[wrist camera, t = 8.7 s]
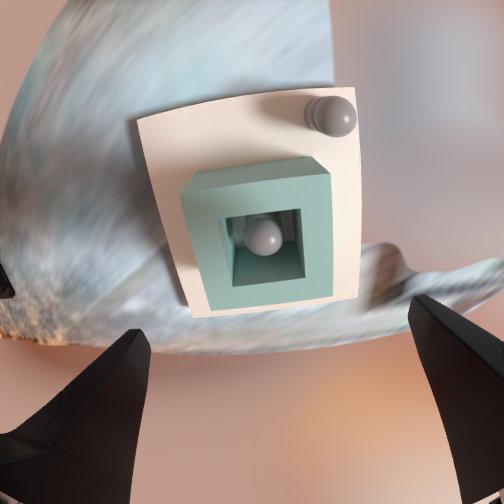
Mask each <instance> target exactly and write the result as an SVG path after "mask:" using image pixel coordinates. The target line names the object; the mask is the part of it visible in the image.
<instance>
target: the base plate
mask: <svg viewBox="0 0 504 504" xmlns="http://www.w3.org/2000/svg"><path fill="white" fill-rule="evenodd" d="M137 124H138V129H139V134H140V138H141V143H142V147H143V151H144V156H145V160H146V164H147V168H148V172H149V176H150V180H151V184H152V188H153V192H154V195H155V199H156V203H157V206H158V210H159V214H160V217H161V221H162V224H163V228H164V231H165V234H166V238H167V241H168V244H169V247H170V251H171V254H172V257H173V260H174V263H175V266H176V269H177V272H178V276H179V279H180V282H181V284H182V287H183V290H184V293H185V296H186V299H187V302H188V305H189V307H190V310H191V313H192V316H193V318H198V317H210V316H221V315H231V314H241V313H251V312H259V311H268V310H276V309H284V308H292V307H299V306H306V305H313V304H320V303H327V302H333V301H340V300H346V299H352V298H357V297H358V285H359V271H360V252H361V212H362V209H361V208H362V207H361V206H362V204H361V202H362V199H361V161H360V142H359V128H358V117H357V107H356V97H355V89H354V87H348V88H347V87H342V88H312V89H297V90H285V91H275V92H266V93H258V94H251V95H244V96H237V97H231V98H225V99H220V100H215V101H209V102H204V103H200V104H195V105H191V106H186V107H182V108H178V109H174V110H170V111H166V112H162V113H158V114H155V115H151V116H148V117H144V118H141V119H138V120H137ZM302 157H313V158H314V159H315V160H316V161H317V162H319V163H320V164H321V165H322V166H323V167H324V168H325V169H326V170H327V171H328V172H330V173H331V189H332V212H333V296H332V297H325V298H318V299H311V300H304V301H297V302H289V303H281V304H273V305H265V306H256V307H247V308H238V309H228V310H217V311H211V309H210V306H209V303H208V299H207V296H206V293H205V289H204V286H203V282H202V279H201V276H200V272H199V269H198V265H197V261H196V258H195V254H194V251H193V247H192V243H191V239H190V236H189V232H188V228H187V224H186V220H185V216H184V212H183V208H182V204H181V200H180V196H179V194H180V192H181V191H182V190H183V189H184V187H185V186H186V185H187V184H188V182H189V181H190V180H191V179H192V177H193V176H194V175H195V174H196V173H197V172H203V171H208V170H214V169H220V168H226V167H232V166H239V165H245V164H252V163H260V162H267V161H275V160H284V159H293V158H302ZM230 219H231V224H232V229H233V235H234V240H235V245H236V248H242V247H248V248H249V250H250V251H251V252H253V253H255V254H257V255H260V256H268V255H271V254H274V253H275V252H277V251H278V250H279V249H280V247H281V246H282V243H283V242H289V241H295V235H294V223H293V213H292V209H290V210H282V211H274V212H267V213H259V214H252V215H244V216H237V217H230Z"/></svg>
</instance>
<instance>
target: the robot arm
mask: <svg viewBox="0 0 504 504" xmlns="http://www.w3.org/2000/svg"><path fill="white" fill-rule="evenodd" d="M14 296H15V292H14V290H13V288H12V286H11V284H10V282H9V280H8V278H7V276H6V274H5V272H4V270H3V268H2V266H1V264H0V299H6V298H13V297H14ZM408 322H409V325H410V328H411V331H412V335H413V337H414V341H415V345H416V347H417V351H418V354H419V358H420V361H421V363H422V366H423V368H424V371H425V374H426V376H427V379H428V381H429V384H430V387H431V390H432V392H433V395H434V398H435V401H436V404H437V407H438V410H439V413H440V416H441V419H442V422H443V425H444V429H445V432H446V435H447V439H448V442H449V446H450V450H451V453H452V457H453V461H454V466H455V470H456V474H457V479H458V484H459V488H460V493H461V499H462V504H473V503H476V502H478V501H480V500H482V499H484V498H486V497H488V496H490V495H492V494H494V493H496V492H498V491H499V494H500V496H499V497H497V498H496V499H494V500H492V501H491V502H490V503H489V504H504V342H503V341H500V339H498V338H497V337H495V336H494V335H492V334H490V333H489V332H487V331H486V330H484V329H482V328H481V327H479V326H478V325H476V324H474V323H473V322H471V321H469V320H468V319H466V318H464V317H463V316H461V315H460V314H458V313H456V312H455V311H453V310H451V309H449V308H448V307H446V306H444V305H443V304H441V303H439V302H437V301H436V300H434V299H432V298H431V297H429V296H427V295H425V294H419V295H415V296H413V297H412V299H411V303H410V308H409V312H408ZM150 356H151V347H150V344H149V342H148V340H147V338H146V337H145V335H144V333H143V331H142V330H141V329H129V330H128V331H127V332H126V333H125V334H123V335H122V336H121V337H120V338H119V339H118V340H117V341H116V342H114V343H113V344H112V345H111V346H110V347H109V348H108V349H107V350H106V351H104V352H103V353H102V354H101V355H100V356H99V357H98V358H97V359H96V360H94V361H93V362H92V363H91V364H90V365H89V366H88V367H87V368H86V369H85V370H83V371H82V372H81V373H80V374H79V375H78V376H77V377H76V378H75V379H74V380H73V381H71V382H70V383H69V384H68V385H67V386H66V387H65V388H64V389H63V390H62V391H60V392H59V393H58V394H57V395H56V396H55V397H54V398H53V399H52V400H51V401H50V402H48V403H47V404H46V405H45V406H44V407H42V408H41V409H40V410H39V411H38V412H36V413H35V414H34V415H33V416H31V417H30V418H29V419H27V420H26V421H25V422H24V423H22V424H21V425H20V426H19V427H17V428H16V429H14V430H13V431H11V432H8V433H4V434H0V504H129V503H130V491H131V484H132V476H133V468H134V461H135V455H136V448H137V442H138V435H139V430H140V424H141V419H142V413H143V408H144V403H145V398H146V392H147V386H148V375H149V366H150Z"/></svg>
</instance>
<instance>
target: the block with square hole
mask: <svg viewBox="0 0 504 504" xmlns="http://www.w3.org/2000/svg"><path fill="white" fill-rule="evenodd" d="M179 196H180V200H181V204H182V208H183V212H184V216H185V220H186V224H187V228H188V232H189V236H190V239H191V243H192V247H193V251H194V254H195V258H196V261H197V265H198V269H199V272H200V276H201V279H202V282H203V286H204V289H205V293H206V296H207V299H208V303H209V306H210V309H211V311H217V310H228V309H238V308H247V307H256V306H265V305H273V304H281V303H289V302H297V301H304V300H311V299H318V298H325V297H332V296H333V212H332V189H331V173H330V172H328V171H327V170H326V169H325V168H324V167H323V166H322V165H321V164H320V163H319V162H317V161H316V160H315V159H314V158H313V157H302V158H293V159H284V160H275V161H267V162H260V163H252V164H245V165H239V166H232V167H226V168H220V169H214V170H208V171H203V172H197V173H196V174H195V175H194V176H193V177H192V179H191V180H190V181H189V182H188V184H187V185H186V186H185V187H184V189H183V190H182V191H181V192H180V194H179ZM290 209H292V213H293V223H294V235H295V241H289V242H283V243H282V246H281V247H280V249H279V250H278V251H277V252H275V253H274V254H271V255H268V256H260V255H257V254H255V253H253V252H251V251H250V250H249V248H248V247H242V248H236V245H235V240H234V235H233V229H232V224H231V219H230V217H237V216H244V215H252V214H259V213H267V212H274V211H282V210H290Z"/></svg>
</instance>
